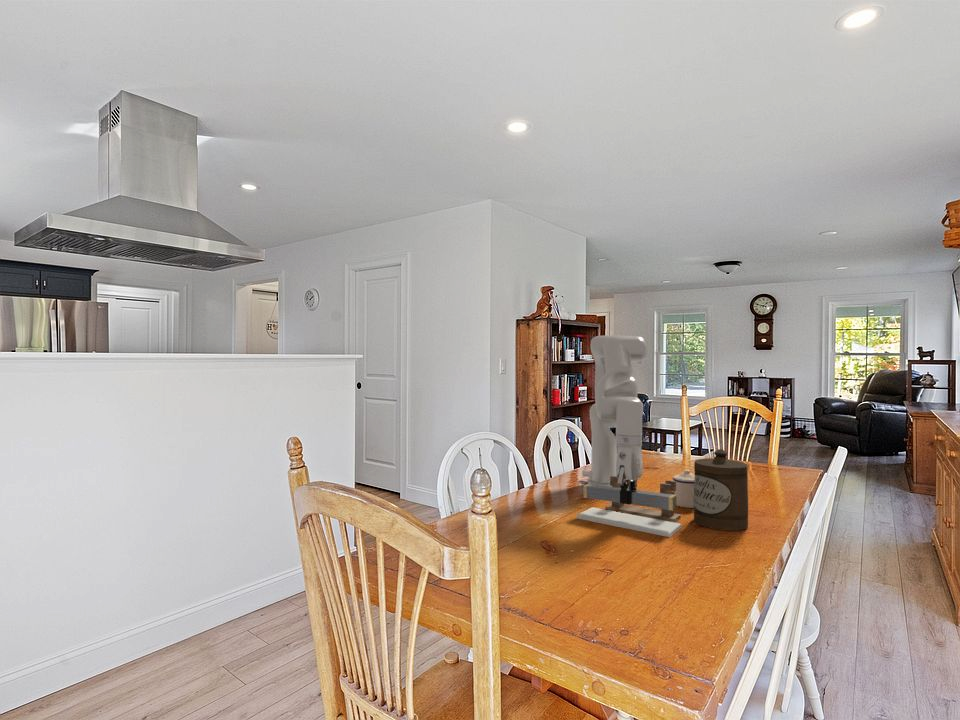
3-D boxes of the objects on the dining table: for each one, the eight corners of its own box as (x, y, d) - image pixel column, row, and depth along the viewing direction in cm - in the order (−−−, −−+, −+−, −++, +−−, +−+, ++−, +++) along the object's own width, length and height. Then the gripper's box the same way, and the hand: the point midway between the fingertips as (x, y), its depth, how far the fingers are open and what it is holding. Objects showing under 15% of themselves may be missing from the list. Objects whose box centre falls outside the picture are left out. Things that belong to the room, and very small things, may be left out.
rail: (583, 497, 167) (583, 485, 167) (588, 495, 170) (588, 483, 170) (672, 510, 151) (672, 497, 151) (676, 507, 154) (676, 495, 154)
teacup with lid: (699, 510, 175) (699, 474, 175) (670, 506, 179) (670, 471, 179) (703, 501, 185) (704, 467, 185) (676, 498, 190) (676, 464, 190)
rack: (605, 509, 174) (605, 475, 174) (612, 505, 179) (613, 472, 179) (674, 522, 161) (675, 485, 161) (680, 517, 166) (681, 482, 166)
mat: (576, 518, 164) (576, 515, 164) (592, 510, 173) (592, 507, 173) (669, 537, 148) (669, 533, 148) (681, 527, 157) (681, 523, 157)
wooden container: (682, 519, 165) (683, 447, 165) (717, 513, 171) (718, 444, 171) (723, 533, 151) (724, 455, 151) (759, 527, 158) (760, 452, 157)
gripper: (630, 445, 152) (630, 510, 152) (650, 438, 165) (650, 498, 165) (605, 442, 156) (604, 506, 156) (627, 436, 169) (626, 494, 169)
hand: (628, 501), depth 160 cm, fingers closed on rail, 3 cm apart
